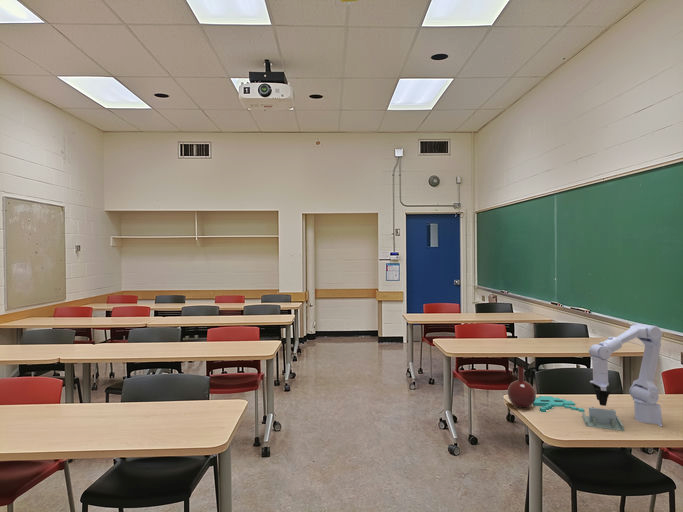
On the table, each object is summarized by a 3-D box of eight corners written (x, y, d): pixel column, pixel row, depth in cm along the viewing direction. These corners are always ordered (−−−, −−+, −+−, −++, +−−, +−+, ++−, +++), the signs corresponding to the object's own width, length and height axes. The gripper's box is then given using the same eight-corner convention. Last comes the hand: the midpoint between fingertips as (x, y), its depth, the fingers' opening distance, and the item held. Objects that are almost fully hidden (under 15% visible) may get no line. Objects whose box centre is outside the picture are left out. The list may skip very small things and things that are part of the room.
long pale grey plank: (615, 423, 173) (615, 410, 174) (616, 425, 172) (615, 411, 172) (589, 420, 178) (588, 407, 178) (589, 421, 176) (589, 408, 177)
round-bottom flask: (515, 412, 192) (514, 370, 193) (503, 402, 205) (502, 364, 206) (541, 411, 193) (540, 370, 194) (527, 402, 206) (526, 364, 207)
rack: (618, 422, 178) (617, 413, 178) (624, 433, 166) (624, 423, 166) (582, 417, 184) (581, 409, 184) (586, 427, 172) (585, 418, 172)
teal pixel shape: (584, 414, 189) (565, 400, 209) (584, 409, 189) (565, 396, 209) (541, 413, 191) (526, 399, 211) (541, 408, 191) (526, 395, 211)
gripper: (587, 367, 184) (588, 396, 184) (592, 375, 171) (593, 406, 170) (605, 368, 181) (606, 398, 181) (611, 376, 168) (612, 408, 167)
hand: (601, 402), depth 175 cm, fingers open, 7 cm apart
